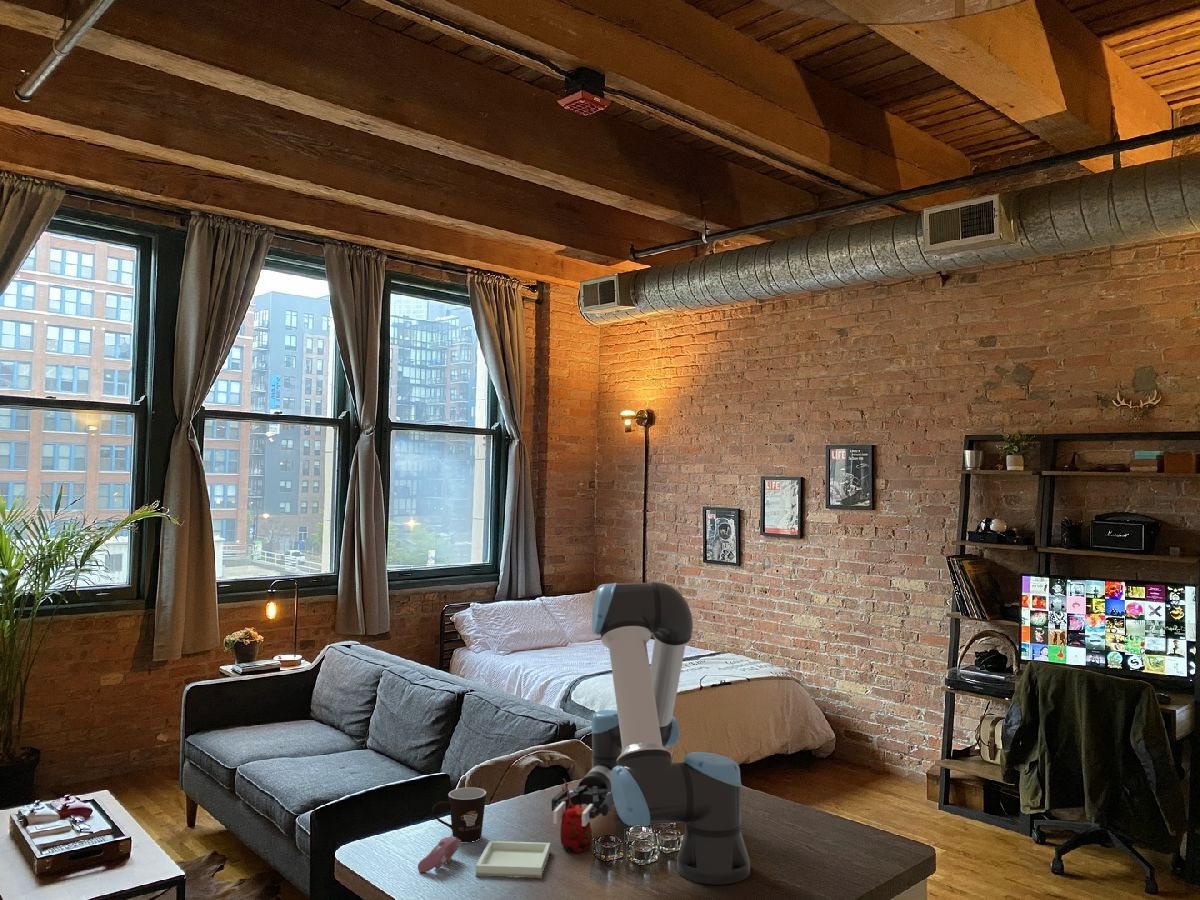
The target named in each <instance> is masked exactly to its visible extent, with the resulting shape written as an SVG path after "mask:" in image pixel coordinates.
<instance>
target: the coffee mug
mask: <svg viewBox="0 0 1200 900" xmlns="http://www.w3.org/2000/svg"><path fill="white" fill-rule="evenodd" d="M447 795H448V802H446V801H443V800H442V801H438V802H436V803H435V804H434V805H433V806H432V810H431V813H432V816H433V817H434V819H435V820H437V821H438V822H439V823H441V824H443V825H444V826H446V827H448V828H450V830H452V831H451V833H452V834H451V835H452V836H453V837H457V838H458V839H459V840H461V842H472V841H476V840H478V839H480V838H481V839H482V833H483V832H482V831H483V824H484V816H485V815H484V814H485V808H486V799H487V791H486V790H485V789H483V788H480V787H460V788H454V790H451V791H449V793H448V794H447ZM440 805H444V806H446V808H447V810H448V811H449V813H450V822H451V824H449V823H448V822H446V821H444V820H442V819H440V818H439V817H438V816H437V815H436V813H435V811H436V808H437V807H438V806H440ZM481 839H480V840H481ZM478 841H479V840H478ZM476 842H477V841H476ZM472 843H473V842H472Z"/></svg>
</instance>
